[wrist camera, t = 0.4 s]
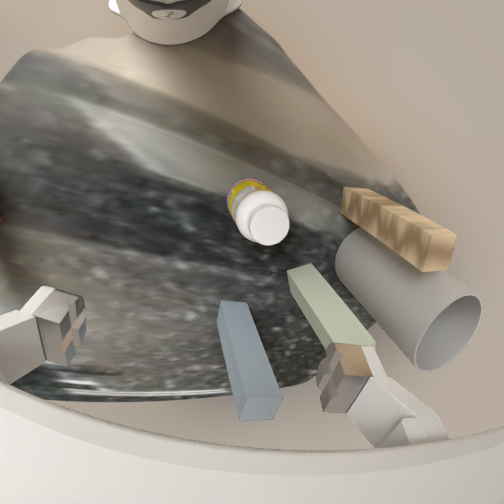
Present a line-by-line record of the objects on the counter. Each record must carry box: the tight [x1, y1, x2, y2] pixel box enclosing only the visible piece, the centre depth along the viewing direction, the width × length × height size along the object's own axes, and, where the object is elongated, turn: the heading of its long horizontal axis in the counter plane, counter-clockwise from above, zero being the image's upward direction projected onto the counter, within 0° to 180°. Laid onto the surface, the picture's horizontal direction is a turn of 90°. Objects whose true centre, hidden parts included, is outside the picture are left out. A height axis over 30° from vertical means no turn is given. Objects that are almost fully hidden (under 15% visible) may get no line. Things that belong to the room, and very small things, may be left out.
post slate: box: [217, 300, 283, 421], centre depth 46 cm, size 4×4×22 cm
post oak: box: [340, 187, 457, 272], centre depth 43 cm, size 4×4×22 cm
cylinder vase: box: [335, 227, 483, 372], centre depth 46 cm, size 12×12×25 cm
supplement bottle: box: [227, 179, 289, 245], centre depth 43 cm, size 7×7×13 cm
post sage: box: [287, 263, 376, 351], centre depth 47 cm, size 4×4×22 cm
